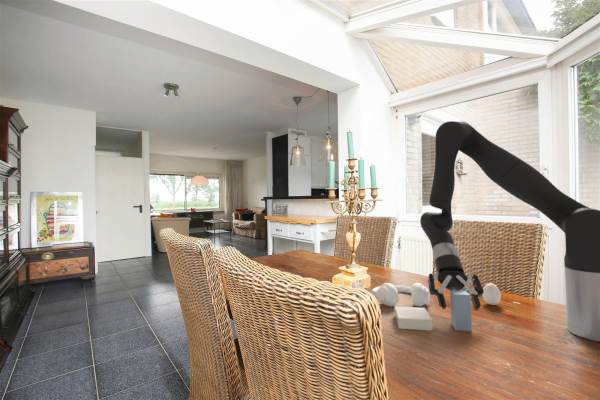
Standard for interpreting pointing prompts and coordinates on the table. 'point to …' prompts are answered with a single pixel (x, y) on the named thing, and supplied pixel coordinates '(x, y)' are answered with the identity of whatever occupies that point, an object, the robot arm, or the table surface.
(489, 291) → the egg
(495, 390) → the table surface
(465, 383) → the table surface
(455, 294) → the pillar
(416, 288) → the headphones
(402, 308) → the base
